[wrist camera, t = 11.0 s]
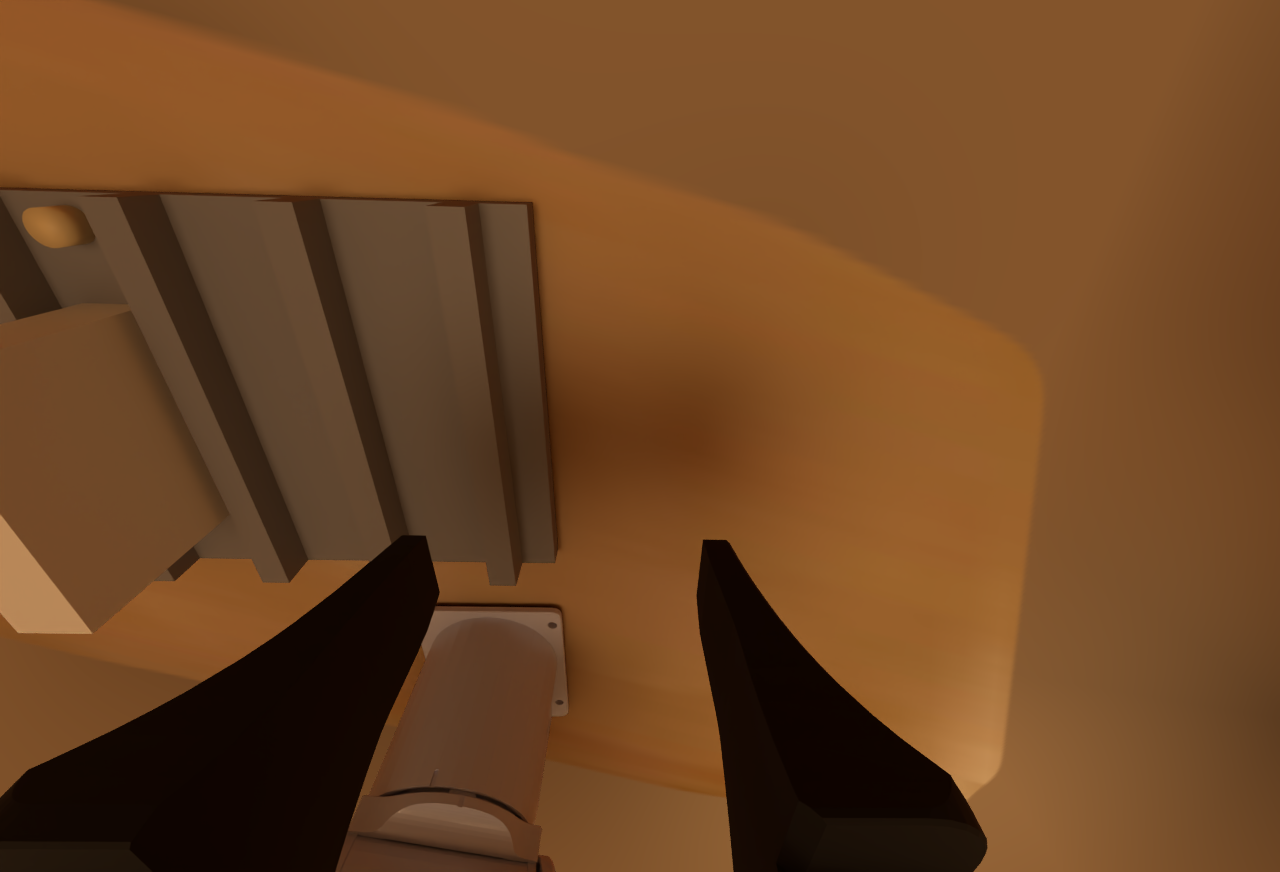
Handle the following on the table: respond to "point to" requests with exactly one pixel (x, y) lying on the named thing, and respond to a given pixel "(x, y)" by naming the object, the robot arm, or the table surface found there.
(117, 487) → the picture frame
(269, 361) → the ridged panel
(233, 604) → the table surface
